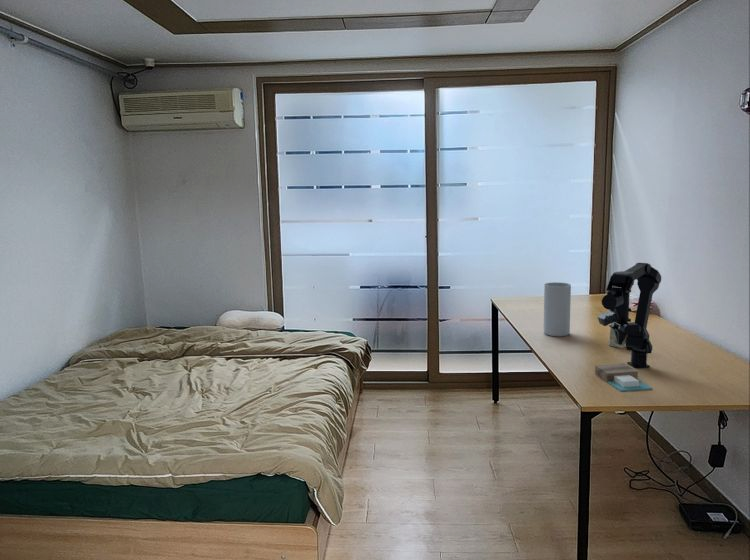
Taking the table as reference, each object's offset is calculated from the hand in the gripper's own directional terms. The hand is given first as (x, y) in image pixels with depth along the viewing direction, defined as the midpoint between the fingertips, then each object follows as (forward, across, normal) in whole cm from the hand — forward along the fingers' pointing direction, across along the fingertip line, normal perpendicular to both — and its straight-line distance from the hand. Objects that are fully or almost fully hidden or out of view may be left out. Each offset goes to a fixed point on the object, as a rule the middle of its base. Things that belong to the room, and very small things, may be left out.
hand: (619, 344), depth 228 cm
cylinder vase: (+13, -66, +2) cm, 67 cm away
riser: (+13, +1, -2) cm, 13 cm away
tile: (+12, +10, -2) cm, 16 cm away
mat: (+13, +11, -2) cm, 17 cm away
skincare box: (+13, -39, +20) cm, 46 cm away
